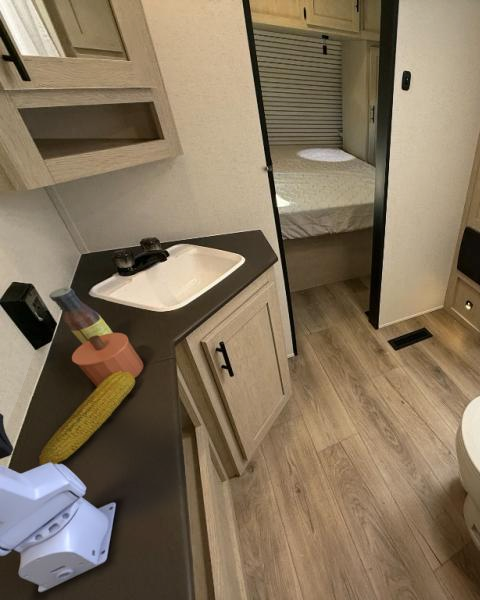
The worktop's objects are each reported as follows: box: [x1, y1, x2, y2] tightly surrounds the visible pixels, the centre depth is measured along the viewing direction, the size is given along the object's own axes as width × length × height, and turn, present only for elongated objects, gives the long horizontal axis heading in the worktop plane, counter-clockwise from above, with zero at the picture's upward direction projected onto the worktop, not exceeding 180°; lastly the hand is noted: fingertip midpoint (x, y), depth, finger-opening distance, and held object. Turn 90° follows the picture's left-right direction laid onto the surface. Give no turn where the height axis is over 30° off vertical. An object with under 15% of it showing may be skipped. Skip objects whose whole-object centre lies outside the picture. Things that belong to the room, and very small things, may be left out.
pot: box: [77, 341, 144, 388], centre depth 77 cm, size 10×10×8 cm
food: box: [38, 371, 136, 466], centre depth 67 cm, size 21×6×6 cm, turn 179°
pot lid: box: [71, 332, 130, 366], centre depth 74 cm, size 10×10×4 cm
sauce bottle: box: [49, 286, 114, 345], centre depth 80 cm, size 6×6×20 cm
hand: (4, 454), depth 53 cm, fingers closed
